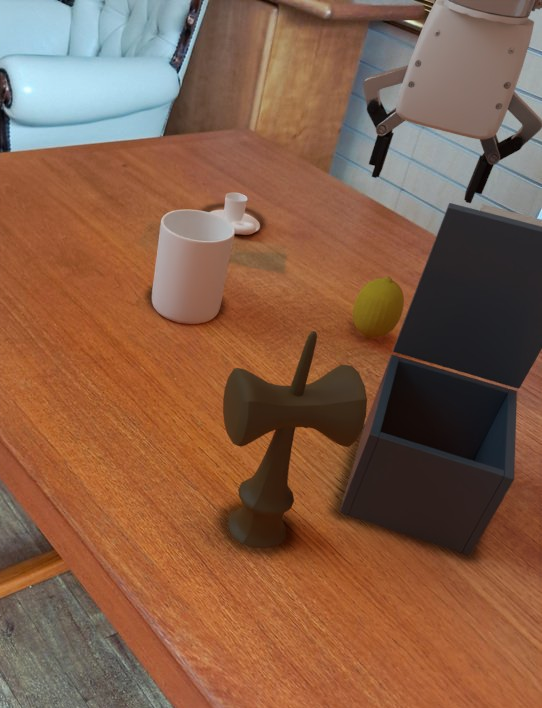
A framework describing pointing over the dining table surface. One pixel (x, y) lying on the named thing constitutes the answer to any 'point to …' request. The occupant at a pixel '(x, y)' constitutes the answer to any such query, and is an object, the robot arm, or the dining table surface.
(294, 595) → the dining table surface
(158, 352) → the dining table surface
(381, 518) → the chest
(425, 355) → the lid
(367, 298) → the lemon
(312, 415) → the kendama
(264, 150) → the dining table surface
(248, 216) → the teacup and saucer
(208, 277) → the mug
